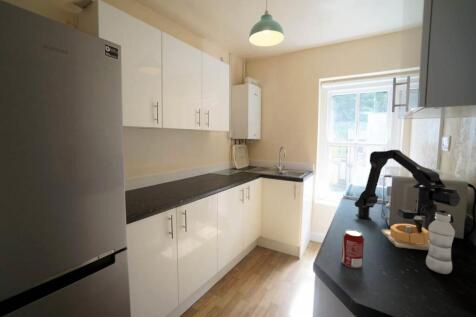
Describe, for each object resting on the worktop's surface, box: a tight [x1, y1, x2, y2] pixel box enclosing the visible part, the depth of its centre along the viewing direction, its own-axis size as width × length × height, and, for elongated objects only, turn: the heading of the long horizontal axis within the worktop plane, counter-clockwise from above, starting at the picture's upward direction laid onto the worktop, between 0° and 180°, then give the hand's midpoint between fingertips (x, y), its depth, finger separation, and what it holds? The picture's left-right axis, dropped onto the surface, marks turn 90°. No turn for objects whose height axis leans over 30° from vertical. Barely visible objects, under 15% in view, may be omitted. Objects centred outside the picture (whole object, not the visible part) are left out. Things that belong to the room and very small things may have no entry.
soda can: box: [341, 228, 365, 269], centre depth 78 cm, size 7×7×12 cm
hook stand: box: [380, 226, 430, 251], centre depth 98 cm, size 16×16×6 cm
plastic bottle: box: [425, 213, 456, 275], centre depth 74 cm, size 6×7×20 cm
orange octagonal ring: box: [389, 223, 430, 243], centre depth 98 cm, size 13×13×4 cm
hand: (423, 234), depth 97 cm, fingers closed on orange octagonal ring, 2 cm apart
